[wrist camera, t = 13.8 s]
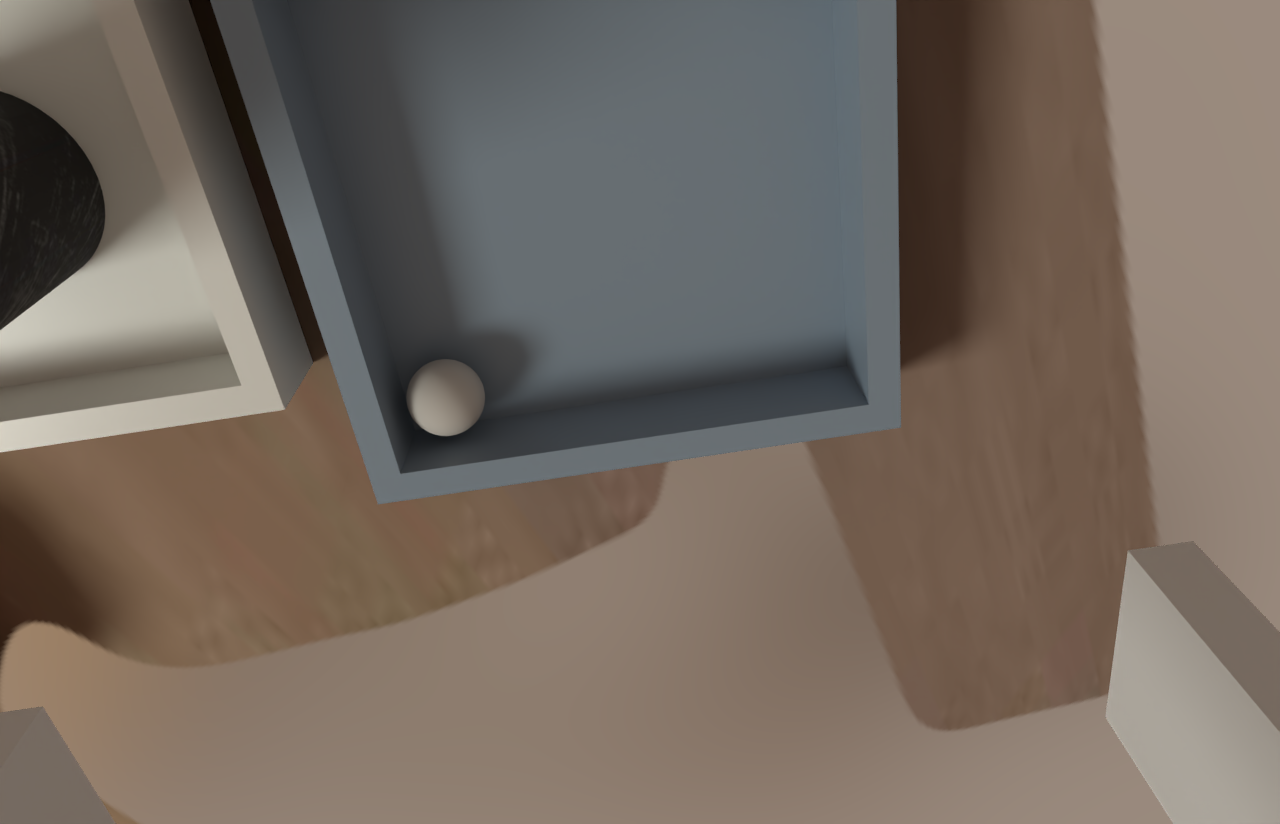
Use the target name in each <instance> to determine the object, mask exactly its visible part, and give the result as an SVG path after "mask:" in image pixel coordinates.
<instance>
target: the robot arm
mask: <svg viewBox="0 0 1280 824" xmlns="http://www.w3.org/2000/svg"><path fill="white" fill-rule="evenodd" d="M1106 719H1107V720H1108V722H1109V723H1110V725H1111V727H1112V728H1113V730H1114V732H1115V733H1116V735H1117V736H1118V738H1119V739H1120V741H1121V743H1122V744H1123V746H1124V747H1125V749H1126V750H1127V752H1128V754H1129V755H1130V757H1131V758H1132V760H1133V761H1134V763H1135V765H1136V766H1137V768H1138V769H1139V771H1140V772H1141V774H1142V775H1143V777H1144V779H1145V780H1146V782H1147V783H1148V785H1149V786H1150V788H1151V790H1152V791H1153V793H1154V794H1155V796H1156V797H1157V799H1158V801H1159V802H1160V804H1161V805H1162V807H1163V808H1164V810H1165V812H1166V813H1167V815H1168V816H1169V818H1170V819H1171V821H1172V823H1173V824H1280V632H1279V631H1278V630H1277V629H1276V628H1275V627H1274V626H1273V625H1272V624H1271V623H1270V622H1269V620H1268V619H1267V618H1266V617H1265V616H1264V615H1263V614H1262V613H1261V612H1260V611H1259V610H1258V609H1257V608H1256V607H1255V606H1254V605H1253V604H1252V603H1251V602H1250V601H1249V599H1248V598H1247V597H1246V596H1245V595H1244V594H1243V593H1242V592H1241V591H1240V590H1239V589H1238V588H1237V587H1236V586H1235V585H1234V584H1233V583H1232V582H1231V580H1230V579H1229V578H1228V577H1227V576H1226V575H1225V574H1224V573H1223V572H1222V571H1221V570H1220V569H1219V568H1218V567H1217V566H1216V565H1215V564H1214V563H1213V562H1212V561H1211V559H1210V558H1209V557H1208V556H1207V555H1206V554H1205V553H1204V552H1203V551H1202V550H1201V549H1200V548H1199V547H1198V546H1197V545H1196V544H1195V543H1194V542H1193V541H1192V542H1185V543H1178V544H1171V545H1165V546H1157V547H1150V548H1143V549H1136V550H1129V551H1128V554H1127V561H1126V569H1125V576H1124V583H1123V591H1122V598H1121V606H1120V613H1119V620H1118V628H1117V635H1116V643H1115V650H1114V657H1113V665H1112V672H1111V680H1110V687H1109V694H1108V702H1107V709H1106ZM0 824H116V823H115V822H114V820H113V819H112V817H111V815H110V814H109V812H108V811H107V809H106V807H105V806H104V804H103V803H102V801H101V799H100V798H99V796H98V795H97V793H96V791H95V790H94V788H93V787H92V785H91V783H90V782H89V780H88V778H87V777H86V775H85V774H84V772H83V770H82V769H81V767H80V766H79V764H78V762H77V761H76V759H75V758H74V756H73V754H72V753H71V751H70V750H69V748H68V746H67V745H66V743H65V741H64V740H63V738H62V737H61V735H60V734H59V732H58V730H57V729H56V727H55V726H54V724H53V722H52V721H51V719H50V717H49V716H48V714H47V713H46V711H45V709H44V708H43V707H36V708H29V709H22V710H15V711H8V712H1V713H0Z"/></svg>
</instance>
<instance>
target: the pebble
mask: <svg viewBox="0 0 1280 824" xmlns="http://www.w3.org/2000/svg"><path fill="white" fill-rule="evenodd" d="M406 399H407V407H408V410H409V412H410V415H411V416H412V418H413V419H414V421H415V422H416V423H417V424H418V425H419V426H420V427H421V428H422V429H424V430H425V431H427V432H429V433H432V434H435V435H439V436H452V435H457V434H460V433H462V432H464V431H466V430H468V429H469V428H470V427H472V426H473V425H474V424H475V423H476V422H477V420H478V419H479V417H480V416H481V413H482V411H483V408H484V403H485V392H484V387H483V384H482V382H481V380H480V378H479V377H478V375H477V374H476V373H475V371H474V370H472V369H471V368H470V367H469V366H467V365H466V364H464V363H462V362H459V361H456V360H451V359H439V360H435V361H432V362H429V363H427V364H425V365H424V366H422V367H421V368H420V369H419V370H418V371H417V372H416V373H415V374H414V375H413V377H412V379H411V380H410V382H409V385H408V389H407V395H406Z"/></svg>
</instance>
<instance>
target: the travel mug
mask: <svg viewBox="0 0 1280 824" xmlns="http://www.w3.org/2000/svg"><path fill="white" fill-rule="evenodd" d="M104 225H105V203H104V197H103V192H102V189H101V185H100V182H99V179H98V177H97V175H96V172H95V170H94V168H93V166H92V164H91V162H90V161H89V159H88V157H87V156H86V154H85V153H84V151H83V150H82V149H81V147H80V146H79V145H78V143H77V142H76V141H75V140H74V138H73V137H72V136H71V135H70V134H69V133H68V132H67V131H66V130H65V129H64V128H63V127H62V126H61V125H60V124H58V123H57V122H56V121H55V120H54V119H53V118H51V117H50V116H49V115H47V114H46V113H44V112H43V111H42V110H40V109H39V108H37V107H35V106H33V105H32V104H30V103H28V102H26V101H24V100H22V99H20V98H17V97H15V96H13V95H10V94H7V93H4V92H1V91H0V330H1V329H3V328H4V327H5V326H6V325H8V324H9V323H10V322H12V321H13V320H14V319H16V318H17V317H18V316H20V315H21V314H22V313H23V312H25V311H26V310H27V309H29V308H30V307H31V306H33V305H34V304H35V303H37V302H38V301H39V300H41V299H42V298H43V297H44V296H46V295H47V294H48V293H50V292H51V291H52V290H54V289H55V288H56V287H58V286H59V285H60V284H61V283H63V282H64V281H65V280H67V279H68V278H69V277H71V276H72V275H73V274H74V273H76V272H77V271H78V270H79V269H81V268H82V267H83V266H84V265H85V264H86V263H87V262H88V261H89V260H90V259H91V257H92V256H93V254H94V253H95V251H96V250H97V248H98V245H99V243H100V241H101V238H102V235H103V231H104Z"/></svg>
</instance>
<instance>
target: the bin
mask: <svg viewBox="0 0 1280 824" xmlns="http://www.w3.org/2000/svg"><path fill="white" fill-rule="evenodd" d="M210 1H211V4H212V7H213V10H214V13H215V16H216V19H217V22H218V25H219V28H220V31H221V34H222V37H223V40H224V43H225V46H226V49H227V52H228V55H229V58H230V61H231V64H232V67H233V70H234V73H235V76H236V79H237V82H238V85H239V88H240V91H241V94H242V97H243V100H244V103H245V106H246V109H247V112H248V115H249V118H250V121H251V124H252V127H253V130H254V133H255V136H256V139H257V142H258V145H259V148H260V151H261V154H262V157H263V160H264V163H265V166H266V169H267V172H268V175H269V178H270V181H271V184H272V187H273V190H274V193H275V196H276V199H277V202H278V205H279V208H280V211H281V214H282V217H283V220H284V223H285V226H286V229H287V232H288V235H289V238H290V241H291V244H292V247H293V250H294V253H295V256H296V259H297V262H298V265H299V268H300V271H301V274H302V277H303V280H304V283H305V286H306V289H307V292H308V295H309V298H310V301H311V304H312V307H313V310H314V313H315V316H316V319H317V322H318V325H319V328H320V331H321V334H322V337H323V340H324V343H325V346H326V349H327V352H328V355H329V358H330V361H331V364H332V367H333V370H334V373H335V376H336V379H337V382H338V385H339V388H340V391H341V394H342V397H343V400H344V403H345V406H346V409H347V412H348V415H349V418H350V421H351V424H352V427H353V430H354V433H355V436H356V439H357V442H358V445H359V448H360V451H361V454H362V457H363V460H364V463H365V466H366V469H367V472H368V475H369V478H370V481H371V484H372V487H373V490H374V493H375V496H376V499H377V502H378V504H383V503H390V502H397V501H404V500H411V499H417V498H424V497H431V496H438V495H445V494H451V493H458V492H465V491H472V490H479V489H485V488H492V487H499V486H506V485H513V484H520V483H526V482H533V481H540V480H547V479H554V478H560V477H567V476H574V475H581V474H588V473H594V472H601V471H608V470H615V469H622V468H628V467H635V466H642V465H649V464H656V463H662V462H669V461H676V460H683V459H690V458H696V457H702V456H710V455H716V454H724V453H730V452H737V451H743V450H751V449H758V448H764V447H771V446H778V445H785V444H792V443H798V442H805V441H812V440H819V439H826V438H832V437H839V436H846V435H853V434H860V433H866V432H873V431H880V430H887V429H894V428H901V393H900V302H899V210H898V119H897V27H896V0H210ZM439 359H451V360H456V361H459V362H462V363H464V364H466V365H467V366H469V367H470V368H471V369H472V370H474V371H475V373H476V374H477V375H478V377H479V378H480V380H481V382H482V384H483V387H484V392H485V403H484V408H483V411H482V413H481V416H480V417H479V419H478V420H477V422H476V423H475V424H474V425H473V426H472V427H470V428H469V429H468V430H466V431H464V432H462V433H460V434H457V435H452V436H439V435H435V434H432V433H429V432H427V431H425V430H424V429H422V428H421V427H420V426H419V425H418V424H417V423H416V422H415V421H414V419H413V418H412V416H411V415H410V412H409V410H408V407H407V399H406V395H407V389H408V385H409V382H410V380H411V379H412V377H413V375H414V374H415V373H416V372H417V371H418V370H419V369H420V368H421V367H422V366H424V365H425V364H427V363H429V362H432V361H435V360H439Z"/></svg>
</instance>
